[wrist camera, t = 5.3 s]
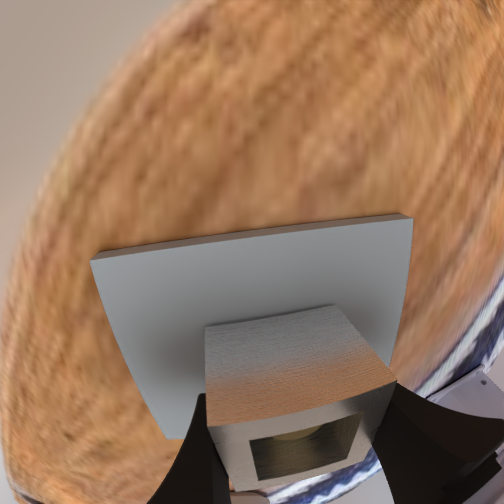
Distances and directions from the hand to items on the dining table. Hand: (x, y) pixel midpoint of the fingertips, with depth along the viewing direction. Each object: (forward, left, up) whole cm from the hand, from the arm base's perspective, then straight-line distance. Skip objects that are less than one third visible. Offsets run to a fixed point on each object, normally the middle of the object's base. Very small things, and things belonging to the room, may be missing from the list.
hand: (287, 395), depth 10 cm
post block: (0, 0, -3) cm, 3 cm away
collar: (0, 0, -2) cm, 2 cm away
